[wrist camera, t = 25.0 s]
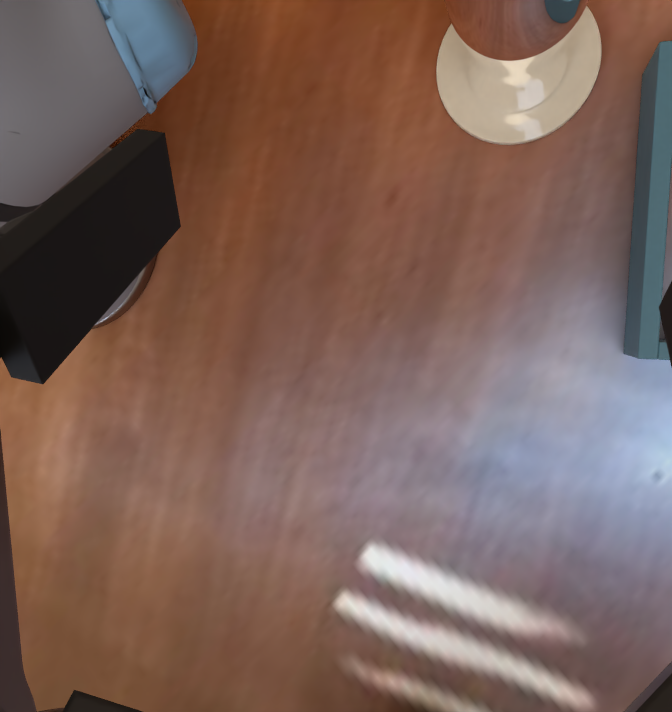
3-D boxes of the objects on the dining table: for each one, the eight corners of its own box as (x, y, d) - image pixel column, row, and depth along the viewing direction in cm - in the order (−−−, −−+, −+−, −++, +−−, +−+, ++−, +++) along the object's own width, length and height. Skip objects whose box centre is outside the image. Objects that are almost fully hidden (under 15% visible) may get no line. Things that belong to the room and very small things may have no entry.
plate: (415, 31, 40) (414, 28, 39) (567, -48, 37) (567, -53, 36) (467, 170, 39) (467, 169, 39) (624, 101, 37) (626, 98, 36)
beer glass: (569, -8, 37) (606, -218, 22) (581, 106, 37) (625, -28, 22) (455, 22, 39) (420, -153, 24) (466, 130, 39) (439, 21, 24)
